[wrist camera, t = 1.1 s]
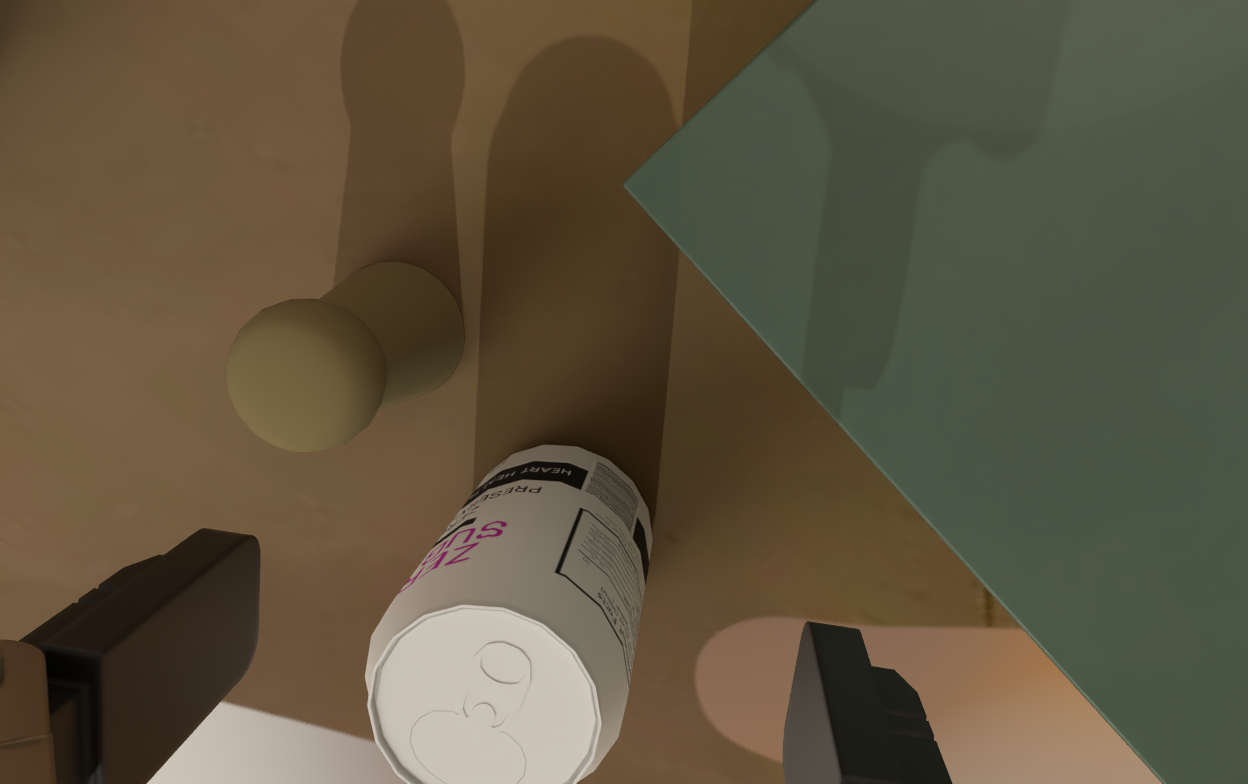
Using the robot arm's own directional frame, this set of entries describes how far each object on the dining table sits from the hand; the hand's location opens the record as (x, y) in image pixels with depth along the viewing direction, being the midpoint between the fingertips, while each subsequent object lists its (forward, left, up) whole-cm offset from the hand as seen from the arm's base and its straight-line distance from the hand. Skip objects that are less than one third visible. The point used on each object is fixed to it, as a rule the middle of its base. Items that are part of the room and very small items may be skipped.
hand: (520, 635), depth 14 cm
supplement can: (+9, -3, -27) cm, 29 cm away
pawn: (+1, -11, -27) cm, 29 cm away
